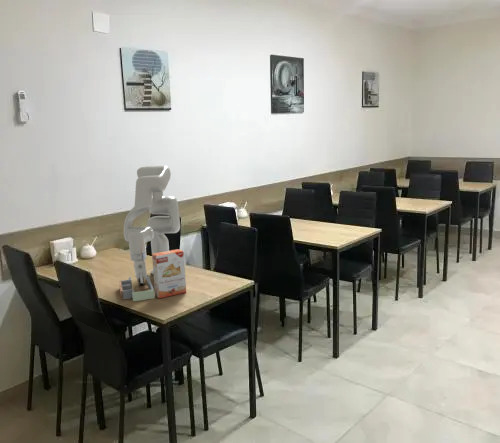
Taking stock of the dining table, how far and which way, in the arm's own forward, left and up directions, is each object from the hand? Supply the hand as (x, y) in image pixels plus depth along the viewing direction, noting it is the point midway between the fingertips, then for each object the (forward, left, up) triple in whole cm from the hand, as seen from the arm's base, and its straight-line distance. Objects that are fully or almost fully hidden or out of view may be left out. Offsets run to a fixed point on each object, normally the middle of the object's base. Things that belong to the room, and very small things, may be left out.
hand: (142, 292), depth 234 cm
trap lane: (+3, -5, -1) cm, 6 cm away
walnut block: (0, +5, -1) cm, 5 cm away
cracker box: (-13, +7, -1) cm, 15 cm away
